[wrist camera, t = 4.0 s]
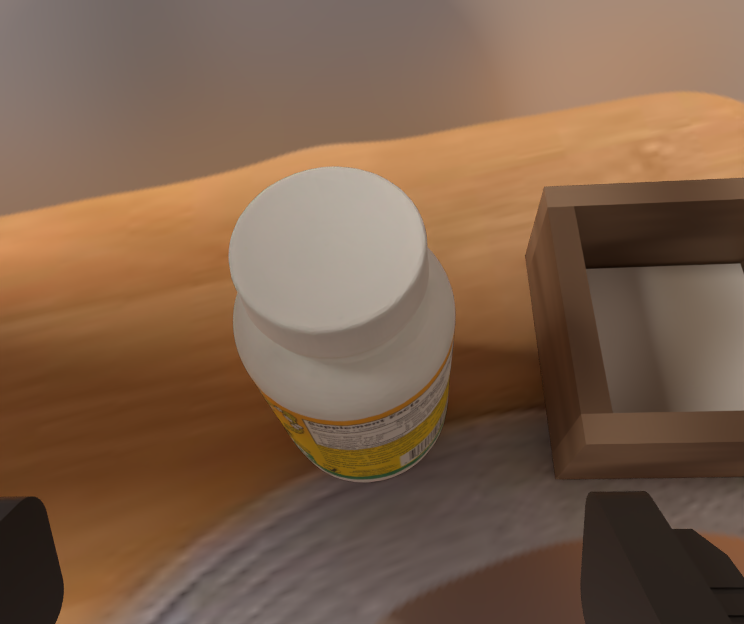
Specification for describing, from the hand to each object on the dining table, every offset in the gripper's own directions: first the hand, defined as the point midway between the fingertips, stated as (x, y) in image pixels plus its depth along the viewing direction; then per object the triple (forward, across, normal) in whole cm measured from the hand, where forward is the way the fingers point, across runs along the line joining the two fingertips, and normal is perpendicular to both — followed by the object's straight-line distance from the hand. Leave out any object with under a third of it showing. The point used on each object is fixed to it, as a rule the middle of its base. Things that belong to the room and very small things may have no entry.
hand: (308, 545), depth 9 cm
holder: (+12, -10, +2) cm, 16 cm away
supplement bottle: (+11, 0, +3) cm, 12 cm away
